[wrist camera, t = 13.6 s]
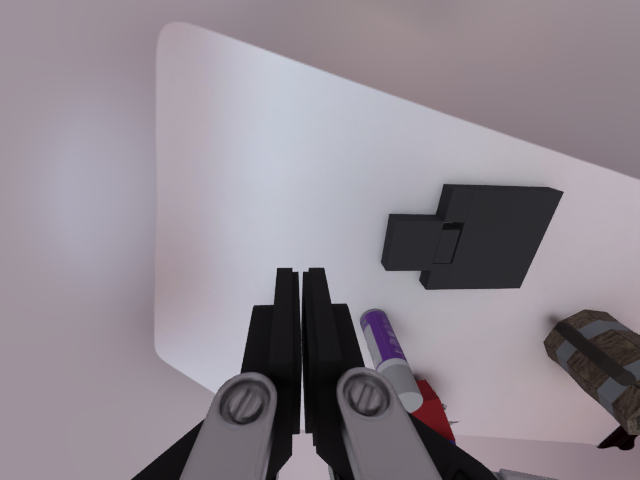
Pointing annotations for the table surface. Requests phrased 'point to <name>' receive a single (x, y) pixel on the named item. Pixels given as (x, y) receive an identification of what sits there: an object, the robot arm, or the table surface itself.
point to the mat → (491, 234)
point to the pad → (417, 242)
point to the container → (390, 358)
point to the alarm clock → (433, 411)
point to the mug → (601, 362)
